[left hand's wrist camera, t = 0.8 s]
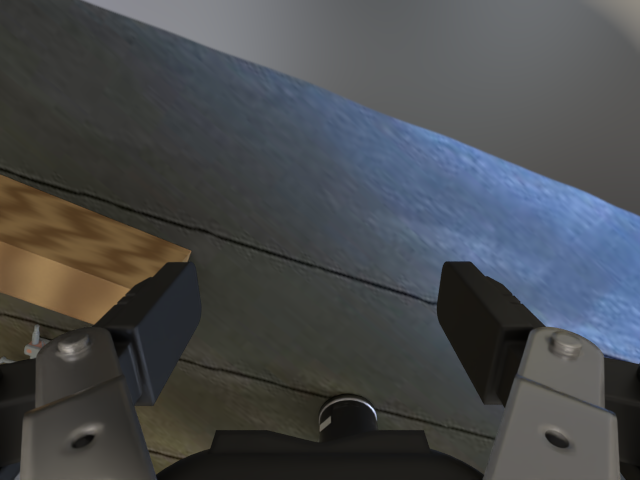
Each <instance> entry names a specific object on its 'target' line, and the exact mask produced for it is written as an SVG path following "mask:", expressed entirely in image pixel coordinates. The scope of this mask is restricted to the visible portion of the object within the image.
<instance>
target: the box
mask: <svg viewBox="0 0 640 480" xmlns="http://www.w3.org/2000/svg"><path fill="white" fill-rule="evenodd" d="M190 253H191V251H190V250H188V249H185V248H183V247H180V246H178V245H175V244H173V243H170V242H168V241H165V240H163V239H160V238H158V237H155V236H153V235H150V234H148V233H145V232H143V231H140V230H138V229H135V228H133V227H130V226H128V225H125V224H123V223H120V222H118V221H115V220H113V219H110V218H108V217H105V216H103V215H100V214H98V213H95V212H93V211H90V210H88V209H85V208H83V207H80V206H78V205H75V204H73V203H70V202H68V201H65V200H63V199H60V198H58V197H55V196H53V195H50V194H48V193H45V192H43V191H40V190H38V189H35V188H33V187H30V186H28V185H25V184H23V183H20V182H18V181H15V180H13V179H10V178H8V177H5V176H3V175H0V292H2V293H4V294H7V295H10V296H13V297H16V298H19V299H22V300H25V301H27V302H30V303H33V304H36V305H39V306H42V307H45V308H48V309H50V310H53V311H56V312H59V313H62V314H65V315H68V316H71V317H74V318H76V319H79V320H82V321H85V322H88V323H91V324H95V323H96V322H97V321H99V320H100V319H101V318H102V317H103V316H104V315H105V314H106V313H107V312H108V311H109V310H110V309H111V308H112V307H113V306H114V305H117V302H118V301H119V300H120V299H121V298H122V297H123V296H125V294H126V293H127V292H128V291H129V290H130V289H131V288H132V287H134V286H135V285H136V284H138V283H140V282H142V281H143V280H145V279H147V278H149V277H153V276H154V275H155V274H156V273H157V272H158V271H159V270H160V269H161V268H162V267H163V266H164V265H165V264H166V263H167V262H188V259H189V256H190Z"/></svg>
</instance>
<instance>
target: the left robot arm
mask: <svg viewBox="0 0 640 480" xmlns="http://www.w3.org/2000/svg"><path fill="white" fill-rule="evenodd" d="M437 316H438V320H439V323H440V325H441V327H442V329H443V330H444V332H445V334H446V336H447V338H448V340H449V341H450V343H451V345H452V347H453V349H454V351H455V352H456V354H457V356H458V358H459V360H460V361H461V363H462V365H463V367H464V369H465V371H466V372H467V374H468V376H469V378H470V380H471V382H472V383H473V385H474V387H475V389H476V391H477V392H478V394H479V396H480V398H481V400H482V402H483V403H484V405H503V406H504V407H505V410H504V413H503V417H502V420H501V423H500V426H499V429H498V433H497V436H496V439H495V442H494V445H493V449H492V452H491V455H490V458H489V461H488V465H487V468H486V471H485V474H484V475H483V474H482V473H481V472H479V471H478V470H476V469H475V468H473V467H471V466H470V465H468V464H466V463H464V462H463V461H461V460H458V459H456V458H454V457H452V456H450V455H447V454H444V453H442V452H439V451H436V450H432V449H430V448H429V445H428V442H427V439H426V436H425V433H424V430H378V426H377V417H376V411H375V408H374V406H373V405H372V404H371V403H370V402H369V401H368V400H367V399H365V398H363V397H360V396H357V395H349V394H348V395H339V396H336V397H333V398H331V399H330V400H328V401H327V402H325V403H324V405H323V406H322V407H321V409H320V412H319V443H318V442H313V441H308V440H304V439H300V438H296V437H292V436H288V435H284V434H280V433H276V432H272V431H268V430H216V433H215V436H214V439H213V442H212V445H211V448H210V449H208V450H204V451H201V452H198V453H196V454H193V455H190V456H188V457H186V458H184V459H182V460H179V461H177V462H176V463H174V464H172V465H170V466H169V467H167V468H165V469H164V470H162V471H161V472H159V473H158V474H157V475H156V474H155V471H154V468H153V465H152V461H151V458H150V455H149V452H148V449H147V445H146V442H145V439H144V436H143V433H142V429H141V426H140V423H139V420H138V417H137V414H136V410H135V407H134V406H153V405H154V403H155V402H156V400H157V398H158V396H159V394H160V393H161V391H162V389H163V387H164V385H165V384H166V382H167V380H168V378H169V376H170V375H171V373H172V371H173V369H174V367H175V366H176V364H177V362H178V360H179V358H180V357H181V355H182V353H183V351H184V349H185V348H186V346H187V344H188V342H189V340H190V339H191V337H192V335H193V333H194V331H195V330H196V328H197V326H198V324H199V321H200V317H201V300H200V293H199V287H198V280H197V273H196V268H195V265H194V263H193V262H167V263H166V264H165V265H164V266H163V267H162V268H161V269H160V270H159V271H158V272H157V273H156V274H155V275H154V276H153V277H149V278H147V279H145V280H143V281H142V282H140V283H138V284H136V285H135V286H134V287H132V288H131V289H130V290H129V291H128V292H127V293H126V294H125V296H123V297H122V298H121V299H120V300H119V301H118V302H117V305H114V306H113V307H112V308H111V309H110V310H109V311H108V312H107V313H106V314H105V315H104V316H103V317H102V318H101V319H100V320H99V321H97V322H96V323H95V324H94V325H93V326H92V327H86V328H81V329H76V330H73V331H70V332H67V333H65V334H62V335H60V336H58V337H56V338H54V339H53V340H51V341H49V342H48V343H47V344H45V345H44V346H43V347H42V348H41V349H40V350H39V352H38V354H37V356H36V358H33V359H28V360H22V361H17V362H12V363H7V364H2V365H0V480H14V479H15V478H16V476H17V475H18V474H19V473H20V480H620V473H621V474H622V475H623V476H624V478H625V479H626V480H640V364H636V363H630V362H625V361H620V360H615V359H610V358H605V357H604V356H603V354H602V352H601V350H600V349H599V348H598V347H597V346H596V345H595V344H593V343H592V342H591V341H589V340H587V339H586V338H584V337H582V336H580V335H578V334H575V333H573V332H570V331H567V330H564V329H559V328H554V327H546V326H545V325H544V324H543V323H542V322H541V321H539V320H538V319H537V318H536V317H535V316H534V315H533V314H532V313H531V312H530V311H529V310H528V309H527V308H526V307H525V306H524V305H523V304H520V301H519V300H518V299H517V298H516V297H515V296H512V293H511V292H510V291H509V290H508V289H507V288H506V287H505V286H504V285H503V284H501V283H499V282H497V281H495V280H494V279H492V278H490V277H488V276H484V275H483V274H482V273H481V272H480V271H479V270H478V269H477V268H476V266H475V265H474V264H473V263H472V262H445V263H444V265H443V268H442V273H441V280H440V287H439V294H438V301H437Z"/></svg>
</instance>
